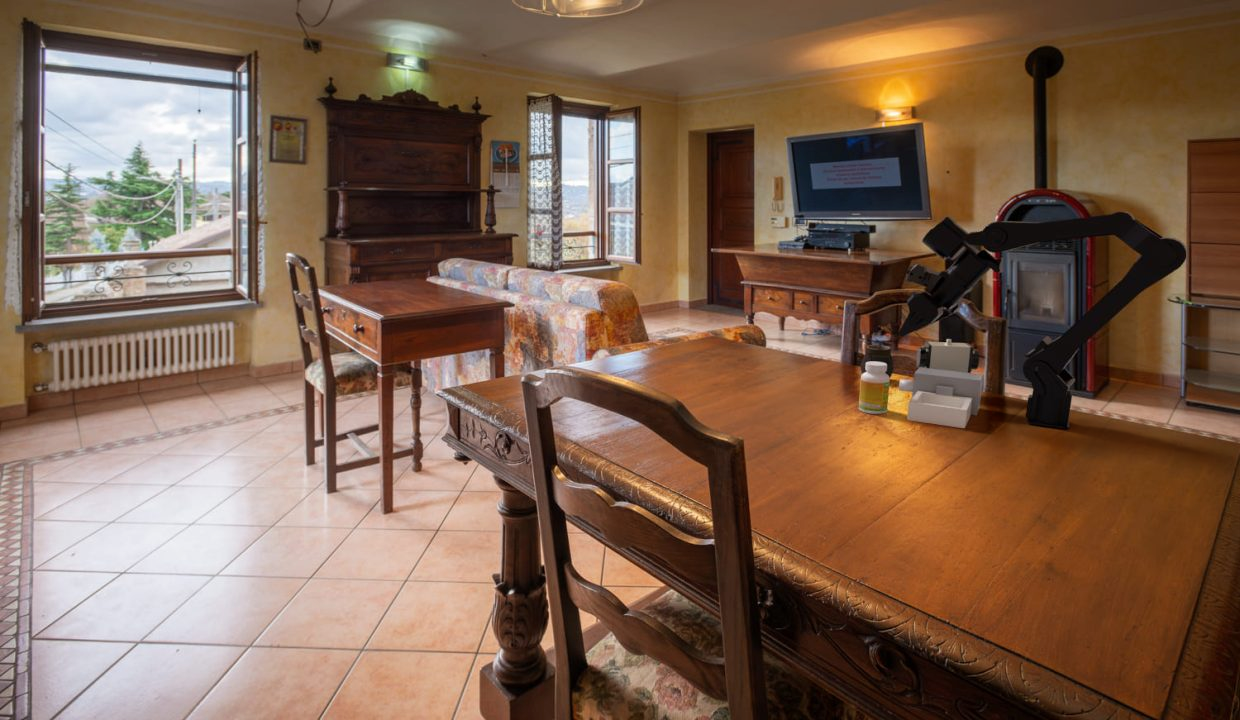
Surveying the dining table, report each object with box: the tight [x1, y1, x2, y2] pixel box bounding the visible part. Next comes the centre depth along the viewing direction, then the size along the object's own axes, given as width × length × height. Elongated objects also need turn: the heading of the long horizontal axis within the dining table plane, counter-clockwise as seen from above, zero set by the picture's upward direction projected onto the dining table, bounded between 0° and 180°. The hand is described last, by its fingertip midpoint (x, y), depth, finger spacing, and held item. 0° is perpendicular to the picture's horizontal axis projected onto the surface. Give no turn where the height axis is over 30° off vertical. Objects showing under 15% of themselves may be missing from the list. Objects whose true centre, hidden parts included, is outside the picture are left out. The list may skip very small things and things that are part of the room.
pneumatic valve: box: [916, 338, 980, 373], centre depth 153 cm, size 6×12×12 cm, turn 77°
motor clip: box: [898, 367, 984, 429], centre depth 138 cm, size 15×16×7 cm
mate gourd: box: [860, 341, 895, 378], centre depth 164 cm, size 7×8×10 cm
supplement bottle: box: [858, 361, 891, 415], centre depth 139 cm, size 5×5×10 cm
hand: (907, 332), depth 146 cm, fingers open, 9 cm apart
